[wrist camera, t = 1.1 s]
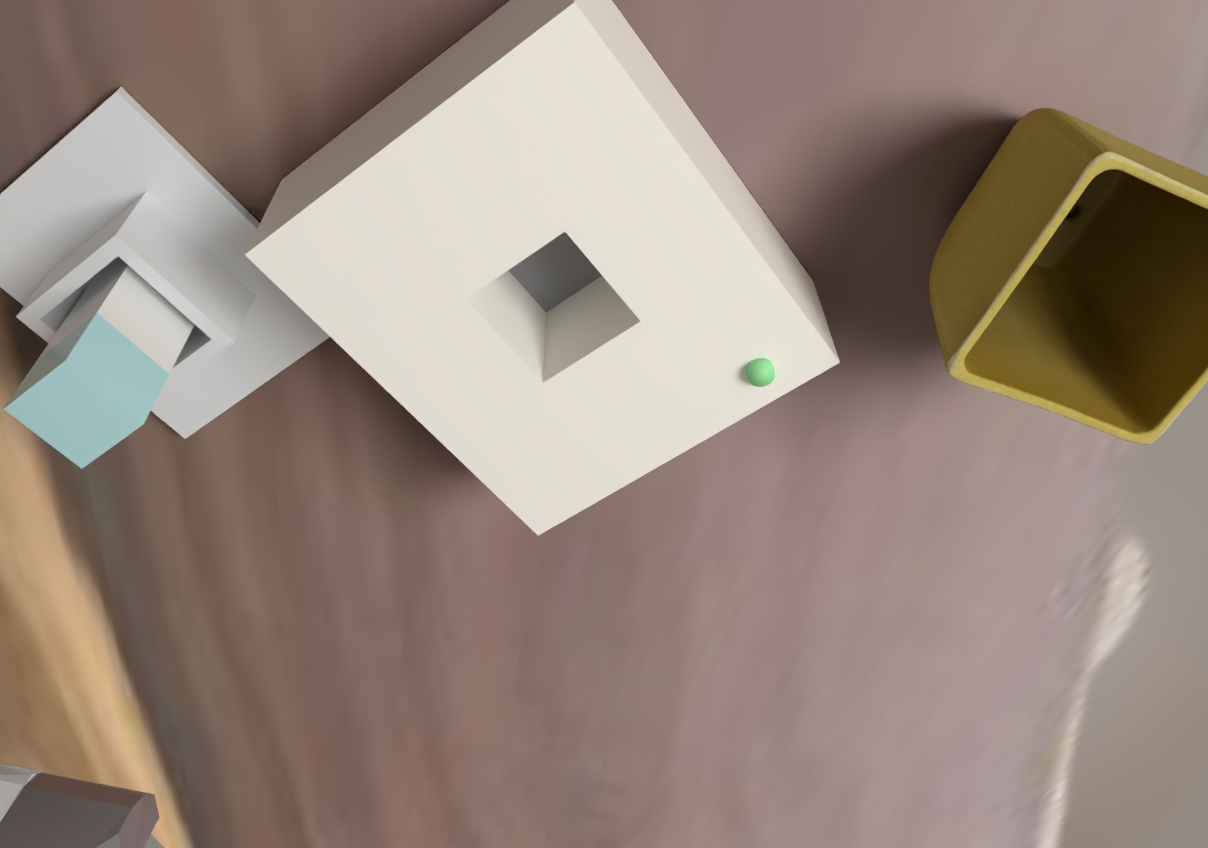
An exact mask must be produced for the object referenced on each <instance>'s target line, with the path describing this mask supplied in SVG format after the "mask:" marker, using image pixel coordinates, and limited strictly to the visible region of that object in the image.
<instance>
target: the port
mask: <svg viewBox="0 0 1208 848" xmlns="http://www.w3.org/2000/svg"><path fill="white" fill-rule="evenodd" d="M245 256H246V257H247V258H248V259H250V260H251V261H252V262H253V263H254V264H255V265H256V266H257V267H258V268H259V269H260V270H261V271H262V272H263V273H264V274H265V275H266V276H267V277H268V278H269V279H270V280H271V281H273V282H274V283H275V284H276V285H277V286H278V287H279V288H280V289H281V290H282V291H283V292H284V293H285V294H286V295H287V296H288V297H289V298H290V299H291V300H292V301H293V302H294V303H296V304H297V305H298V306H299V307H300V308H301V309H302V310H303V311H304V312H305V313H306V314H307V315H308V316H309V317H310V318H311V319H312V320H313V321H314V322H315V323H316V324H317V325H319V326H320V327H321V328H322V329H323V330H324V331H325V332H326V333H327V334H328V335H329V336H330V337H331V338H332V339H333V340H334V341H335V342H336V343H337V344H338V345H339V346H340V347H342V348H343V349H344V350H345V351H346V352H347V353H348V354H349V355H350V356H351V357H352V358H353V359H354V360H355V361H356V362H357V363H358V364H359V365H360V366H361V367H362V368H363V369H365V370H366V371H367V372H368V373H369V374H370V375H371V376H372V377H373V378H374V379H375V380H376V381H377V382H378V383H379V384H380V385H381V386H382V387H383V388H384V389H385V390H387V391H388V392H389V393H390V394H391V395H392V396H393V397H394V398H395V399H396V400H397V401H398V402H399V403H400V404H401V405H402V406H403V407H404V408H405V409H406V410H407V411H408V412H410V413H411V414H412V415H413V416H414V417H415V418H416V419H417V420H418V421H419V422H420V423H421V424H422V425H423V426H424V427H425V428H426V429H427V430H428V431H429V432H430V433H431V434H433V435H434V436H435V437H436V438H437V439H438V440H439V441H440V442H441V443H442V444H443V445H444V446H445V447H446V448H447V449H448V450H449V451H450V452H451V453H452V454H453V455H454V456H456V457H457V458H458V459H459V460H460V461H461V462H462V463H463V464H464V465H465V466H466V467H467V468H468V469H469V470H470V471H471V472H472V473H473V474H474V475H475V476H476V477H477V478H479V479H480V480H481V481H482V482H483V483H484V484H485V485H486V486H487V487H488V488H489V489H490V490H491V491H492V492H493V493H494V494H495V495H496V496H497V497H498V498H499V499H500V500H502V501H503V502H504V503H505V504H506V505H507V506H508V507H509V508H510V509H511V510H512V511H513V512H514V513H515V514H516V515H517V516H518V517H519V518H520V519H521V520H522V521H523V522H525V523H526V524H527V525H528V526H529V527H530V528H531V529H532V530H533V531H534V532H535V533H536V534H537V535H540V534H542V533H544V532H545V531H547V530H549V529H551V528H552V527H554V526H556V525H557V524H559V523H561V522H563V521H564V520H566V519H568V518H570V517H571V516H573V515H575V514H577V513H578V512H580V511H582V510H584V509H585V508H587V507H589V506H591V505H592V504H594V503H596V502H598V501H599V500H601V499H603V498H605V497H606V496H608V495H610V494H612V493H613V492H615V491H617V490H618V489H620V488H622V487H624V486H625V485H627V484H629V483H631V482H632V481H634V480H636V479H638V478H639V477H641V476H643V475H645V474H646V473H648V472H650V471H652V470H653V469H655V468H657V467H659V466H660V465H662V464H664V463H666V462H667V461H669V460H671V459H673V458H674V457H676V456H678V455H680V454H681V453H683V452H685V451H686V450H688V449H690V448H692V447H693V446H695V445H697V444H699V443H700V442H702V441H704V440H706V439H707V438H709V437H711V436H713V435H714V434H716V433H718V432H720V431H721V430H723V429H725V428H727V427H728V426H730V425H732V424H734V423H735V422H737V421H739V420H741V419H742V418H744V417H746V416H747V415H749V414H751V413H753V412H754V411H756V410H758V409H760V408H761V407H763V406H765V405H767V404H768V403H770V402H772V401H774V400H775V399H777V398H779V397H781V396H782V395H784V394H786V393H788V392H789V391H791V390H793V389H795V388H796V387H798V386H800V385H802V384H803V383H805V382H807V381H809V380H810V379H812V378H814V377H815V376H817V375H819V374H821V373H822V372H824V371H826V370H828V369H829V368H831V367H833V366H835V365H836V364H838V363H840V361H839V358H838V355H837V352H836V349H835V346H834V343H833V340H832V337H831V334H830V331H829V328H828V325H827V322H826V319H825V316H824V313H823V310H822V307H821V304H820V301H819V298H818V295H817V292H816V289H815V286H814V283H813V280H812V279H811V277H810V276H809V275H808V273H807V272H806V271H805V269H804V268H803V266H802V265H801V264H800V262H799V261H798V259H797V258H796V257H795V255H794V254H793V252H792V251H791V250H790V248H789V247H788V245H787V244H786V243H785V241H784V240H783V238H782V237H781V236H780V234H779V233H778V231H777V230H776V229H775V227H774V226H773V224H772V223H771V222H770V220H769V219H768V218H767V216H766V215H765V213H764V212H763V211H762V209H761V208H760V206H759V205H758V204H757V202H756V201H755V199H754V198H753V197H752V195H751V194H750V192H749V191H748V190H747V188H746V187H745V185H744V184H743V183H742V181H741V180H740V178H739V177H738V176H737V174H736V173H735V172H734V170H733V169H732V167H731V166H730V165H729V163H728V162H727V160H726V159H725V158H724V156H723V155H722V153H721V152H720V151H719V149H718V148H717V146H716V145H715V144H714V142H713V141H712V139H711V138H710V137H709V135H708V134H707V132H706V131H705V130H704V128H703V127H702V125H701V124H700V123H699V121H698V120H697V119H696V117H695V116H694V114H693V113H692V112H691V110H690V109H689V107H688V106H687V105H686V103H685V102H684V100H683V99H682V98H681V96H680V95H679V93H678V92H677V91H676V89H675V88H674V86H673V85H672V84H671V82H670V81H669V79H668V78H667V77H666V75H665V74H664V72H663V71H662V70H661V68H660V67H659V66H658V64H657V63H656V61H655V60H654V59H653V57H652V56H651V54H650V53H649V52H648V50H647V49H646V47H645V46H644V45H643V43H642V42H641V40H640V39H639V38H638V36H637V35H636V33H635V32H634V31H633V29H632V28H631V26H630V25H629V24H628V22H627V21H626V19H625V18H624V17H623V15H622V14H621V13H620V11H619V10H618V8H617V7H616V6H615V4H614V3H613V1H612V0H510V1H508V2H507V3H506V4H505V5H503V6H502V7H501V8H499V9H498V10H497V11H496V12H494V13H493V14H492V15H491V16H489V17H488V18H487V19H485V20H484V21H483V22H482V23H480V24H479V25H478V26H477V27H475V28H474V29H473V30H471V31H470V32H469V33H468V34H466V35H465V36H464V37H463V38H461V39H460V40H459V41H457V42H456V43H455V44H454V45H452V46H451V47H450V48H449V49H447V50H446V51H445V52H443V53H442V54H441V55H440V56H438V57H437V58H436V59H435V60H433V61H432V62H431V63H429V64H428V65H427V66H426V67H424V68H423V69H422V70H421V71H419V72H418V73H417V74H415V75H414V76H413V77H412V78H410V79H409V80H408V81H407V82H405V83H404V84H403V85H401V86H400V87H399V88H398V89H396V90H395V91H394V92H393V93H391V94H390V95H389V96H387V97H386V98H385V99H384V100H382V101H381V102H380V103H379V104H377V105H376V106H375V107H373V108H372V109H371V110H370V111H368V112H367V113H366V114H365V115H363V116H362V117H361V118H359V119H358V120H357V121H356V122H354V123H353V124H352V125H351V126H349V127H348V128H347V129H345V130H344V131H343V132H342V133H340V134H339V135H338V136H337V137H335V138H334V139H333V140H331V141H330V142H329V143H328V144H326V145H325V146H324V147H323V148H321V149H320V150H319V151H317V152H316V153H315V154H314V155H312V156H311V157H310V158H309V159H307V160H306V161H305V162H303V163H302V164H301V165H300V166H298V167H297V168H296V169H295V170H293V171H292V172H291V173H289V174H288V175H287V176H286V177H284V178H283V179H282V180H281V182H280V184H279V186H278V188H277V190H276V192H275V194H274V196H273V198H272V200H271V202H270V204H269V206H268V208H267V210H266V212H265V214H264V217H263V219H262V221H261V223H260V225H259V227H258V229H257V231H256V233H255V235H254V237H253V239H252V241H251V243H250V245H249V247H248V249H247V251H246V253H245Z"/></svg>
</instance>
